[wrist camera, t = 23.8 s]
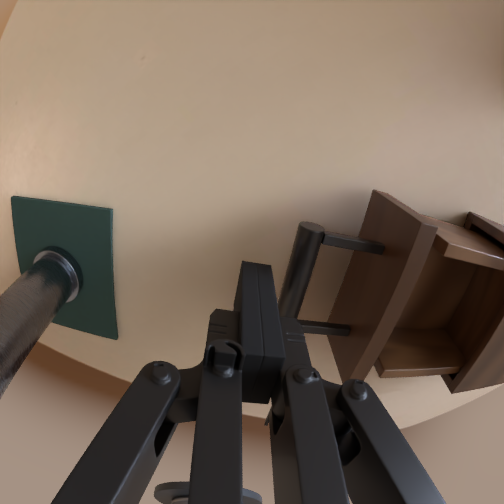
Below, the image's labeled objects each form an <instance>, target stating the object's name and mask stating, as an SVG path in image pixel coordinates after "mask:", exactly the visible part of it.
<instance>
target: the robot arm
mask: <svg viewBox="0 0 504 504" xmlns="http://www.w3.org/2000/svg"><path fill="white" fill-rule="evenodd" d="M305 341H306V340H305V336H304V332H303V328H302V326H301V324H300V323H299V322H298V321H297V319H296V318H288V317H280V316H279V310H278V304H277V298H276V292H275V286H274V280H273V274H272V268H271V265H266V264H259V263H253V262H246V261H242V264H241V269H240V274H239V280H238V285H237V290H236V295H235V300H234V310H233V311H229V310H222V309H215V310H214V311H213V313H212V314H211V315H210V320H209V327H208V334H207V341H206V348H205V352H204V358H203V360H202V362H201V363H200V364H199V365H197V366H195V367H193V368H189V369H181V370H178V369H177V368H176V367H175V366H174V365H172V364H170V363H168V362H164V361H153V362H151V363H148V364H147V365H145V366H144V367H143V368H142V370H141V371H140V372H139V374H138V375H137V377H136V378H135V380H134V381H133V382H132V384H131V385H130V387H129V388H128V390H127V391H126V392H125V394H124V395H123V397H122V398H121V400H120V401H119V403H118V404H117V405H116V407H115V408H114V410H113V411H112V413H111V414H110V416H109V417H108V419H107V420H106V422H105V423H104V424H103V426H102V427H101V429H100V430H99V432H98V433H97V435H96V436H95V438H94V439H93V441H92V442H91V444H90V445H89V446H88V448H87V449H86V451H85V452H84V454H83V456H82V457H81V458H80V460H79V461H78V463H77V464H76V466H75V468H74V469H73V470H72V472H71V473H70V475H69V476H68V478H67V480H66V481H65V482H64V484H63V486H62V487H61V489H60V490H59V492H58V493H57V495H56V496H55V498H54V499H53V501H52V503H51V504H138V503H139V501H140V499H141V497H142V495H143V494H144V492H145V490H146V487H147V486H148V484H149V482H150V480H151V477H152V475H153V474H154V471H155V470H156V468H157V465H158V464H159V462H160V459H161V458H162V456H163V454H164V451H165V450H166V447H167V445H168V443H169V441H170V439H171V437H172V435H173V433H174V431H175V429H176V427H177V425H178V423H182V422H190V421H196V425H195V434H194V444H193V453H192V463H191V473H190V483H189V494H188V495H181V496H176V497H174V498H172V503H171V504H243V488H242V402H248V403H260V404H268V403H269V400H270V398H271V402H272V407H271V409H270V411H269V414H268V416H267V418H266V420H265V425H266V426H267V425H268V423H269V425H270V439H271V454H272V467H273V482H274V496H275V504H350V503H349V498H348V495H349V497H350V499H351V501H352V503H353V504H446V503H445V501H444V499H443V498H442V496H441V494H440V493H439V491H438V490H437V488H436V486H435V485H434V483H433V482H432V480H431V478H430V477H429V475H428V474H427V472H426V470H425V469H424V467H423V466H422V464H421V463H420V461H419V460H418V458H417V456H416V455H415V453H414V452H413V450H412V449H411V447H410V446H409V444H408V442H407V441H406V439H405V438H404V436H403V435H402V433H401V432H400V430H399V428H398V427H397V425H396V424H395V422H394V421H393V419H392V418H391V416H390V415H389V413H388V412H387V410H386V409H385V407H384V406H383V404H382V403H381V401H380V400H379V398H378V397H377V395H376V394H375V392H374V391H373V389H372V388H371V387H370V386H369V385H368V384H367V383H366V382H364V381H362V380H358V379H349V380H347V381H345V382H344V383H343V385H338V384H335V383H331V382H328V381H326V380H323V379H322V378H321V376H320V374H319V372H318V371H317V370H316V369H315V368H313V367H312V366H311V361H310V357H309V353H308V349H307V345H306V343H305Z"/></svg>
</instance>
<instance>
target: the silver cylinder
mask: <svg viewBox="0 0 504 504" xmlns="http://www.w3.org/2000/svg"><path fill="white" fill-rule="evenodd" d="M82 287H83V273H82V270H81V268H80V265H79V264H78V262H77V260H76V259H75V258H74V257H73V256H72V255H71V254H70V253H69V252H68V251H67V250H65V249H63V248H61V247H58V246H48V247H46V248H44V249H43V250H42V251H41V252H39V253H38V254H37V255H36V257H35V259H34V261H33V265H32V266H31V267H30V268H29V269H28V270H27V271H25V272H24V273H23V274H22V275H21V276H20V277H19V278H18V279H17V280H16V281H15V282H14V283H13V284H12V285H11V286H10V287H9V288H8V289H7V290H6V291H5V292H4V293H3V294H2V295H1V296H0V399H1V397H2V395H3V394H4V392H5V390H6V388H7V387H8V385H9V384H10V382H11V380H12V379H13V377H14V375H15V374H16V372H17V371H18V369H19V368H20V366H21V364H22V363H23V361H24V360H25V358H26V357H27V355H28V354H29V352H30V351H31V349H32V348H33V346H34V345H35V344H36V342H37V341H38V339H39V338H40V336H41V335H42V334H43V332H44V331H45V329H46V328H47V327H48V325H49V324H50V323H51V321H52V320H53V319H54V317H55V316H56V315H57V313H58V312H59V311H60V309H61V308H62V307H63V305H64V304H65V303H67V302H70V301H72V300H74V299H75V298H76V296H77V295H78V294H79V293H80V291H81V289H82Z"/></svg>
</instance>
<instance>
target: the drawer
mask: <svg viewBox="0 0 504 504" xmlns="http://www.w3.org/2000/svg"><path fill="white" fill-rule="evenodd" d="M321 243H322V244H324V245H330V246H335V247H341V248H346V249H352V250H354V252H353V255H352V257H351V260H350V263H349V266H348V269H347V272H346V274H345V277H344V280H343V282H342V285H341V288H340V290H339V293H338V296H337V298H336V301H335V303H334V306H333V309H332V311H331V314H330V316H329V319H328V321H327V322H317V321H308V320H299V319H297V317H298V314H299V311H300V308H301V305H302V302H303V299H304V296H305V293H306V290H307V287H308V284H309V281H310V278H311V274H312V271H313V268H314V265H315V262H316V258H317V255H318V252H319V249H320V245H321ZM503 300H504V247H502V246H501V245H499V244H498V243H496V242H495V241H494V240H492V239H491V238H489V237H488V236H485V235H482V234H480V233H477V232H474V231H471V230H468V229H465V228H462V227H459V226H456V225H453V224H450V223H447V222H444V221H441V220H437V219H434V218H431V217H428V216H425V215H421V214H418V213H417V212H415V211H414V210H412V209H411V208H409V207H408V206H406V205H405V204H403V203H402V202H400V201H399V200H397V199H396V198H394V197H392V196H391V195H389V194H388V193H384V192H381V191H377V190H373V191H372V195H371V198H370V202H369V205H368V208H367V212H366V215H365V218H364V221H363V224H362V228H361V231H360V234H359V237H353V236H348V235H343V234H338V233H333V232H328V231H325V229H324V228H323V227H321V226H320V225H318V224H315V223H312V222H300V223H299V226H298V230H297V234H296V238H295V241H294V245H293V249H292V253H291V256H290V260H289V264H288V267H287V271H286V275H285V278H284V282H283V285H282V289H281V292H280V296H279V299H278V303H277V304H278V310H279V316H280V317H288V318H296V319H297V321H298V322H299V323H300V324H301V326H302V328H303V332H304V333H312V334H323V335H327V337H328V340H329V343H330V346H331V349H332V352H333V355H334V358H335V361H336V364H337V367H338V370H339V374H340V377H341V380H342V383H344V382H345V381H347V380H349V379H358V380H362V381H364V379H365V378H366V376H367V374H368V373H369V371H370V370H371V368H372V366H373V365H374V366H375V368H376V371H377V373H378V375H379V377H380V378H395V377H416V376H430V375H442V374H452V373H459V372H460V370H461V369H462V367H463V366H464V364H465V363H466V362H467V360H468V359H469V357H470V356H471V354H472V353H473V351H474V350H475V348H476V347H477V345H478V344H479V342H480V340H481V339H482V337H483V336H484V334H485V332H486V331H487V329H488V327H489V326H490V324H491V322H492V320H493V319H494V317H495V315H496V313H497V311H498V310H499V308H500V306H501V304H502V302H503Z"/></svg>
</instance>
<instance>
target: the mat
mask: <svg viewBox="0 0 504 504" xmlns="http://www.w3.org/2000/svg"><path fill="white" fill-rule="evenodd" d="M11 206H12V217H13V227H14V235H15V243H16V249H17V256H18V262H19V267H20V273H21V275H22V274H23V273H24V272H25V271H27V270H28V269H29V268H30V267H31V266H32V265H33V261H34V259H35V257H36V255H37V254H38V253H39V252H41V251H42V250H43V249H44V248H46V247H48V246H58V247H61V248H63V249H65V250H67V251H68V252H69V253H70V254H71V255H72V256H73V257H74V258H75V259H76V260H77V262H78V264H79V265H80V268H81V270H82V273H83V287H82V289H81V291H80V293H79V294H78V295H77V296H76V298H75V299H74V300H72V301H70V302H67V303H65V304H64V305H63V307H62V308H61V309H60V311H59V312H58V313H57V315H56V316H55V317H54V319H53V320H52V321H51V322H53V323H56V324H59V325H62V326H66V327H69V328H73V329H76V330H80V331H83V332H87V333H91V334H94V335H98V336H102V337H106V338H110V339H114V340H117V339H118V331H117V322H116V310H115V297H114V280H113V250H112V220H113V209H109V208H102V207H95V206H88V205H81V204H73V203H66V202H58V201H51V200H43V199H35V198H27V197H19V196H12V197H11Z"/></svg>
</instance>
